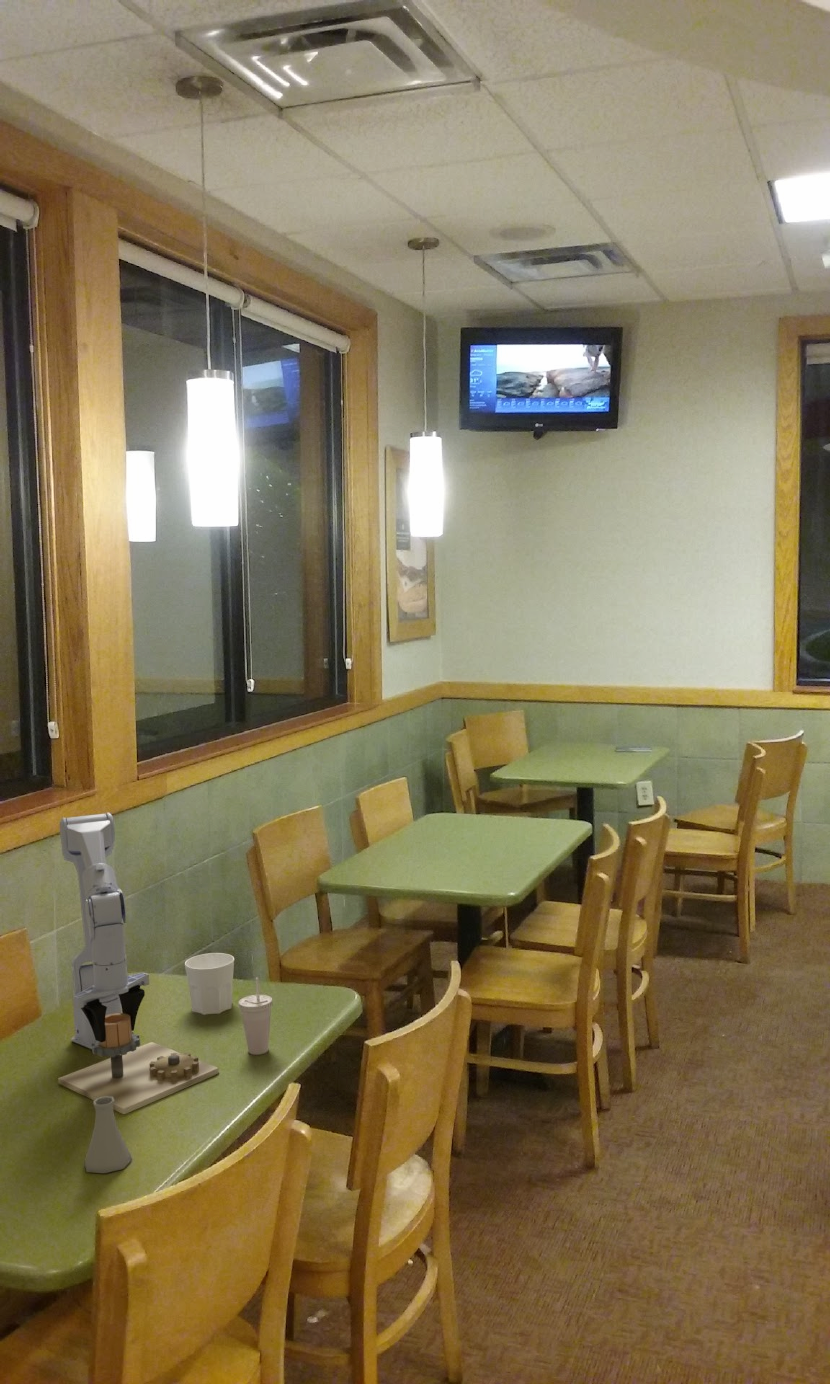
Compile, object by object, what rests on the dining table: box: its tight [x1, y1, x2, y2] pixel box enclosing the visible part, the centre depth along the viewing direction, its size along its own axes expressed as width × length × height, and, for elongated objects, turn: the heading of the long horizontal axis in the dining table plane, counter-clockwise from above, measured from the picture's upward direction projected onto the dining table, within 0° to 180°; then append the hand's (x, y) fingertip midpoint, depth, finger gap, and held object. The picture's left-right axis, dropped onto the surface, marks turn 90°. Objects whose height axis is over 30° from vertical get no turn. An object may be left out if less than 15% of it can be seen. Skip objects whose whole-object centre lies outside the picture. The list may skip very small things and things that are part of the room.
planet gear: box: [91, 1013, 141, 1058], centre depth 209 cm, size 8×8×5 cm
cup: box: [184, 952, 235, 1016], centre depth 244 cm, size 10×10×10 cm
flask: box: [83, 1096, 133, 1174], centre depth 181 cm, size 7×7×10 cm
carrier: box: [57, 1041, 220, 1115], centre depth 211 cm, size 20×20×4 cm
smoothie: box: [238, 977, 274, 1056], centre depth 221 cm, size 6×6×14 cm
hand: (114, 1035), depth 209 cm, fingers closed on planet gear, 5 cm apart
